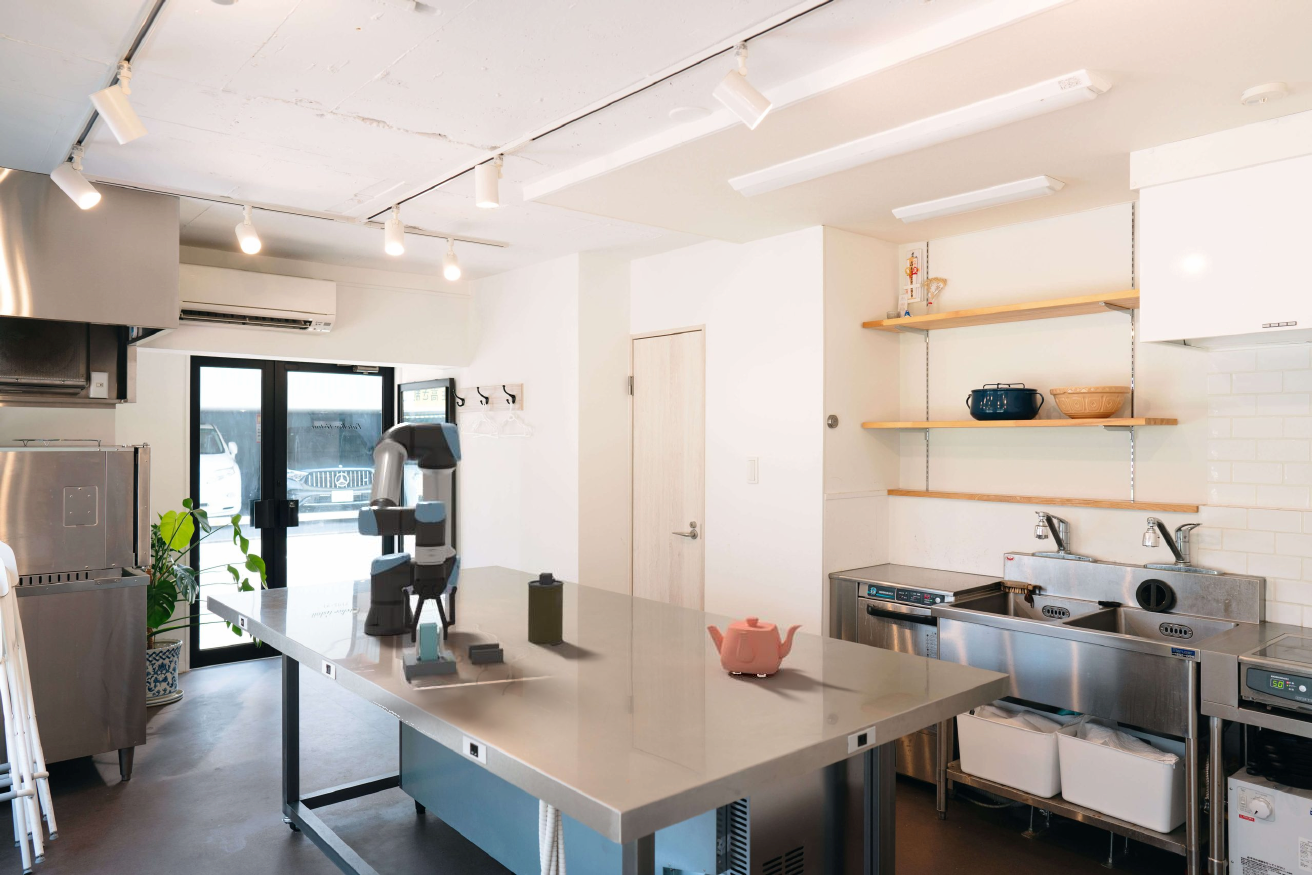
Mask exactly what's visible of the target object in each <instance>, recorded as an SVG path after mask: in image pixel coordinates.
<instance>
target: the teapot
mask: <svg viewBox="0 0 1312 875" xmlns="http://www.w3.org/2000/svg"><path fill="white" fill-rule="evenodd" d="M759 620H760V619H759V617H756V616H747V617H745V620H736V621H733V622H731V623H730V624H729V625H728V626H727V628H726V631H725V634H724V636H723V634H722V633H721V632H720V630H719V629H718V628H717V627H716V625H708V626H707V627H706V628H707V630H708V632H709V634H710V638H711V639H712V641H713V643H714V646H715V648H716V650H717V651H718V654H719V656H720V657H719V658H720V663H721V666H722V668H723V670H725V671H728V672H731V673H732V672H735V673H740V672H741V673H742V674H750V675H751V674H752V675H754V674H755V675H756V674H759V675H764V674H766V675H772V674H775V673H776V672H777V671H778V670H779V668H780V666H781V665H782V662H783V659H784V658H786V657H787V656H789V653H790V652H791V649H792V645H793V642H794V641H793V640H794V635H795V632H797V630H799V628H801V627H802V626H803V624H794V625H792V626H791V625H790V627H789V628H788V629H787V630H786V636H785V639H784V641H783V642H782V640H781V636H780V633H779V629H778V626H777V624H776V623H771V622H763V621H759Z"/></svg>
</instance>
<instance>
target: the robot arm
mask: <svg viewBox="0 0 1312 875" xmlns="http://www.w3.org/2000/svg"><path fill="white" fill-rule="evenodd" d="M461 449H462V448H461V442H460V435H459V428H458V426H457V425H456V424H455V423H450V422H442V421H441V422H439V421H438V422H409V421H407V422H401V423H399V424H395V425H393V426H391V427H390V428H389V429H387V430H386V431H384V433H383V434H382V435H380V437H379V438H378V439H377V441H376V443H375V445H374V448H373V453H372V454H373V455H372V456H373V458H372V459H373V460H374V462H375V463H374V464H375V466H374V471H373V478H372V483H371V490H370V497H369V501H368V502H369V504H368V506H364V507H361V508H359V510H358V514H357V515H358V516H357V519H358V520H357V527H358V532H359V533H358V534H360V535H361V536H366V537H367V536H372V537H382V536H383V537H384V536H385V537H386V536H390V537H391V536H415V538H414V540H415V543H414V557H412V555H411V553H410V552H397V553H396V552H395V553H391V554H385V555H381V556H378V557H375V558H374V559H373V560H371V565H370V572H369V574H370V606H369V609H368V611H367V614H366V617H365V621H364V624H363V625H364V626H363V631H364V633H365V634H367V635H368V634H369V635H374V636H391V635H394V636H395V635H402V634H407V633H410V640H411V643H412V644H414V643H415V644H414V645H415V646H414V647H415V652H414V653H415V655H416V657H418V656H419V653H420V627H419V628H418V624H419V621H420V618H421V613H422V610H423V607H424V605H425V601H428V600H435V603H436V607H437V611H438V615H439V618H440V621H441V625H442V626H439V627H438V651H439V653H440V655H443V651H444V642H445V641H448V637H449V636H448V635H449V634H448V632H449V630H448V629H449V628H450V627H451V626H455V624H456V594H457V590H458V581H459V578H460V576H459V575H460V568H461V556H459V555H457V551H456V549H454V548H453V547H452V482H453V481H452V476H453V474H452V473H453V472H454V470H456V468H457V467H458V466H457V465H458V464H457V463H458V462H461V461H462V452H461ZM408 461H410V462H417V468H418V469H419V470H420V471H421V472H422V501H417V503H416V504H415V506H399V504H400V496H401V487H402V485H401V484H402V479H403V468H404V465H405V464H406V462H408ZM442 595H448V607H449V608H448V615H449V616H448V617H449V618H448V620H447V617H446V613H445V609H444V606H443V605H444V604H443V601H442V597H441V596H442ZM411 596H418V600H417V604H416V607H415V610H414V613H413V610H412V607H411Z"/></svg>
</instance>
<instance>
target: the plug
mask: <svg viewBox="0 0 1312 875" xmlns="http://www.w3.org/2000/svg"><path fill="white" fill-rule="evenodd" d="M419 630H420V636H419V653H420V661H423V660H436V659H438V651H439V641H438V623H437V622H424V623H419Z"/></svg>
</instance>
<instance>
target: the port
mask: <svg viewBox="0 0 1312 875" xmlns="http://www.w3.org/2000/svg"><path fill="white" fill-rule="evenodd" d="M402 670H403V674H404V679H405V680H406V681H408V680H412V679H411V678H413V677H415V678H417V677H426V676H428V677H430V676H439V675H453V674H457V660H456V658H455V656H454V654H453V652H452V650H451V649H450V650H449V649H448V650H443V655H440V653H439V650H438V659H436V660H423V661H420V652H419V656H418V657H416V655H415V652H410V653H402Z"/></svg>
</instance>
